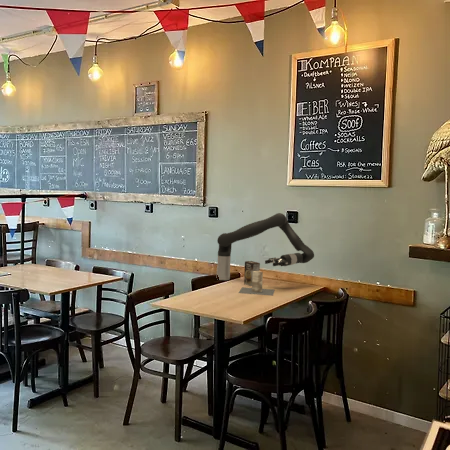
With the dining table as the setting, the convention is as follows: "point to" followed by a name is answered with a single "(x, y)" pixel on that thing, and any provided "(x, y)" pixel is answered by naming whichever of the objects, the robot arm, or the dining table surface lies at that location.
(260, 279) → the block
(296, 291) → the dining table surface
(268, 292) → the mat
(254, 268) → the coffee box
